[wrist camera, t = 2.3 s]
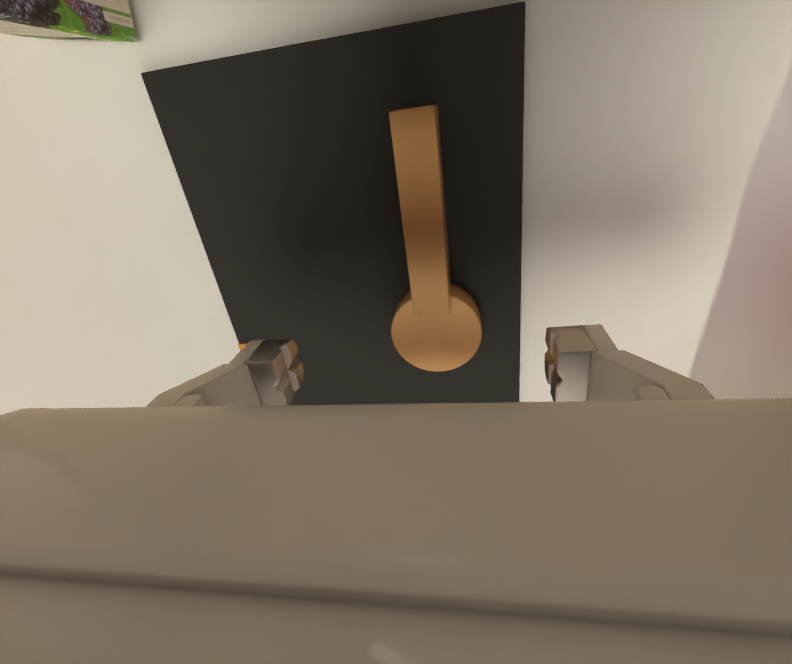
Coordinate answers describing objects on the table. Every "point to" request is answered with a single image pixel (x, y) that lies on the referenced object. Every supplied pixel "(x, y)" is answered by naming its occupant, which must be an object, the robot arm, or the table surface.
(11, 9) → the syrup box
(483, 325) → the mat
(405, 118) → the orange wooden ladle
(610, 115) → the table surface
